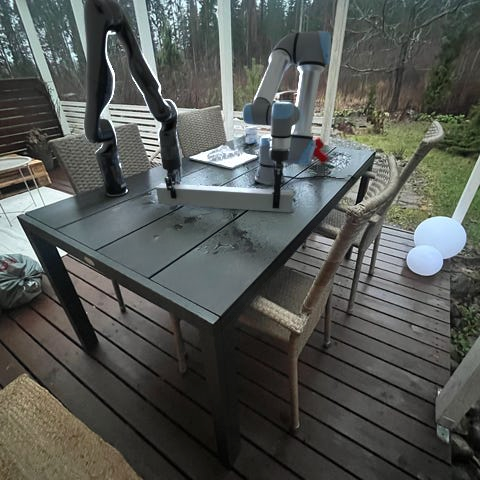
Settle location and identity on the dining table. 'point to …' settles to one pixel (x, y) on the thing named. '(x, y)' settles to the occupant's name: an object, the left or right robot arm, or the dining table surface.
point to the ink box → (251, 134)
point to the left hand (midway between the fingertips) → (176, 195)
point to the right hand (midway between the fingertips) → (275, 203)
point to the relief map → (224, 157)
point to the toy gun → (319, 151)
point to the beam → (225, 197)
